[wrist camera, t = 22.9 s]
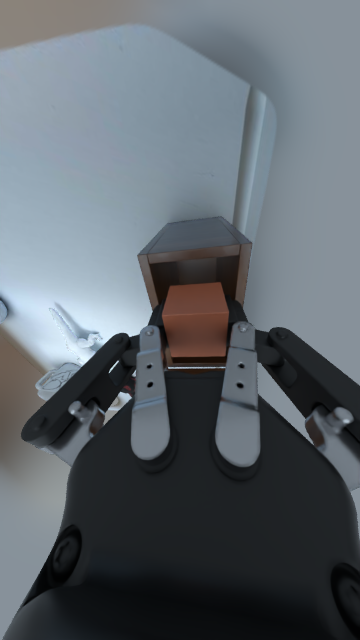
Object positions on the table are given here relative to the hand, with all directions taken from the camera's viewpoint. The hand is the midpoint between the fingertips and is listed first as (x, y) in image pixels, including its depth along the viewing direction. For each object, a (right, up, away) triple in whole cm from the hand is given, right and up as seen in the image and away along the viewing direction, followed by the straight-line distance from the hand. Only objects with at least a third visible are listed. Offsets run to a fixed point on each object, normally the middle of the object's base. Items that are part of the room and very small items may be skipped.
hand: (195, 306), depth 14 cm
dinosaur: (-27, -7, +31) cm, 42 cm away
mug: (-39, -17, +41) cm, 59 cm away
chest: (+2, +9, +16) cm, 18 cm away
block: (0, 0, 0) cm, 0 cm away
